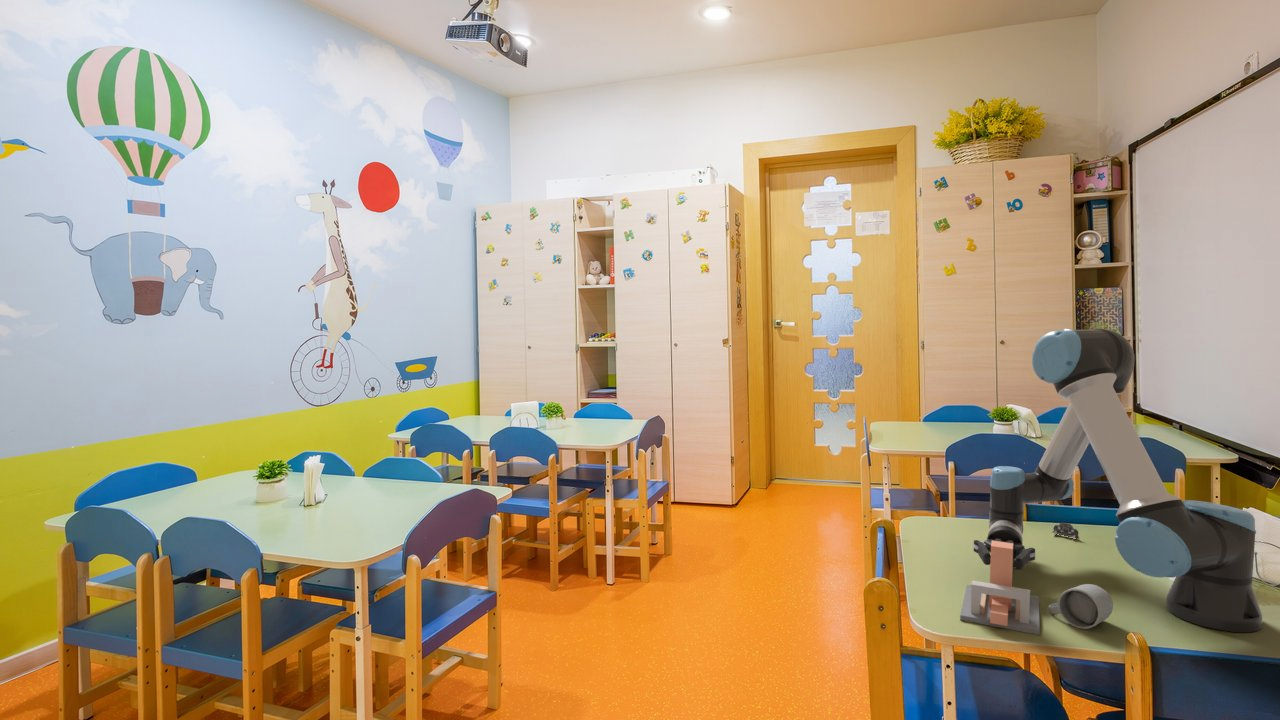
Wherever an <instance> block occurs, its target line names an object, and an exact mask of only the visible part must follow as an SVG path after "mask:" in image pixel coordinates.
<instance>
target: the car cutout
mask: <svg viewBox="0 0 1280 720" xmlns="http://www.w3.org/2000/svg"><path fill="white" fill-rule="evenodd" d="M1052 533H1053V534H1054V535H1055V534H1059V535H1064V536H1068V537H1073V539H1074V538H1076V540H1077V539H1080V536H1079V531H1078V530H1077V528H1075V527H1073V525H1072V524H1071V523H1067V522H1060V523H1059V524H1056V525H1054V526H1053V530H1052ZM1054 535H1053V536H1054ZM1073 539H1072V540H1073Z"/></svg>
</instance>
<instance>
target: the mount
mask: <svg viewBox="0 0 1280 720" xmlns="http://www.w3.org/2000/svg"><path fill="white" fill-rule="evenodd" d="M990 595H994V596H1000V597H1006V598H1012V604H1011V611H1008V624H1007V626H1004V625H998V624H993V623H990V612H991V608H990V607H989V599H990ZM1039 603H1040V601H1039V596H1037V595H1031V589H1026V588H1021V587H1016V586H1015V587H1014V586H1012V587H1009V586H1003V585H997V584H991V583H990V582H984V581H977V580H972V581H971V584H966V588H965V593H964V598H963V603H962V605H961V606H962V607H961V611H960V614H959V617H960V618H959V621H963V620H965V621H964V622H968V621H970V622H969V623H974V622H975V624H980V625H986V626H990V627H996V628H1000V629H1006V630H1011V631H1017V632H1021V633H1028V634H1032V633H1033V635H1038V636H1040V633H1041V632H1040V631H1041V630H1040V627H1041V626H1040V606H1039V605H1040V604H1039Z"/></svg>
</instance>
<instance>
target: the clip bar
mask: <svg viewBox="0 0 1280 720" xmlns="http://www.w3.org/2000/svg"><path fill="white" fill-rule="evenodd" d="M990 556H991V561H990V565H989V566H990V567H989V583H991V584H997V585H1003V586H1009V587H1013V543H1007V542H1000V541H992V542H991V553H990ZM1011 604H1012V598H1006V597H1000V596H994V595H990V599H989V607H990V608H991V612H990V623H993V624H998V625H1004V626H1007V624H1008V611H1011Z"/></svg>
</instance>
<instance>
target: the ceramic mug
mask: <svg viewBox="0 0 1280 720" xmlns="http://www.w3.org/2000/svg"><path fill="white" fill-rule="evenodd" d="M1112 599H1113V598H1112V597H1111V596H1110V594H1109V593H1108V592H1107V591H1106V590H1105V589H1104V588H1102V587H1101V586H1099V585H1096V584H1092V583H1091V584H1090V583H1084V584H1079V585H1078V586H1075V587H1071V588H1069V589H1066V590H1064V591H1063V592H1061V594H1060V596H1059V597H1058V600H1057V602H1054V603H1051V604H1049V605H1048V606H1047V607H1048V610H1049V612H1050V613H1049V614H1051V615H1060V616H1062V618H1063V619H1064V621H1066V622H1067V623H1068V624H1070V625H1071V626H1073V627H1075V628H1078V629H1082V630H1089V629H1092V628H1094V627H1096V626H1098V624H1101V623H1102V622H1103V621H1105V620H1107V619H1108V618H1109V617H1110V616H1111V614H1112V613H1113V610H1114V601H1113V600H1112Z"/></svg>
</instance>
